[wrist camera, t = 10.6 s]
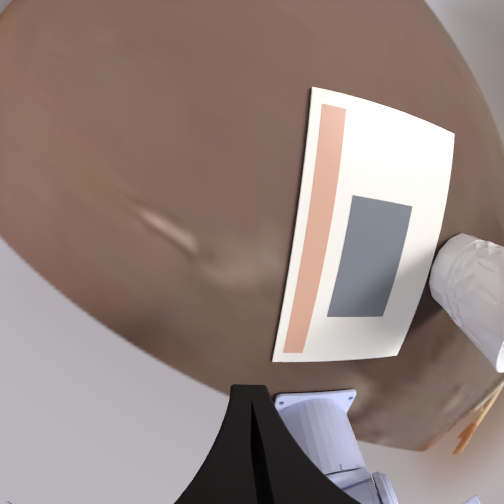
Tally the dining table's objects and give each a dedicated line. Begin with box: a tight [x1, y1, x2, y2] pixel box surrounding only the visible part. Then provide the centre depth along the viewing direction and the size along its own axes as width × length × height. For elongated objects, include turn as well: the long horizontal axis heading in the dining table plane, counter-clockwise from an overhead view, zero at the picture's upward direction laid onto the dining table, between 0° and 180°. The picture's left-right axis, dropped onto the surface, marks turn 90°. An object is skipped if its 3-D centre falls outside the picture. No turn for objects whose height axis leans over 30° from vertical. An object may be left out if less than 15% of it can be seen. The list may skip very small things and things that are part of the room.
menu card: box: [272, 87, 454, 362], centre depth 18 cm, size 20×12×1 cm, turn 174°
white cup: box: [429, 233, 504, 373], centre depth 15 cm, size 8×8×10 cm
